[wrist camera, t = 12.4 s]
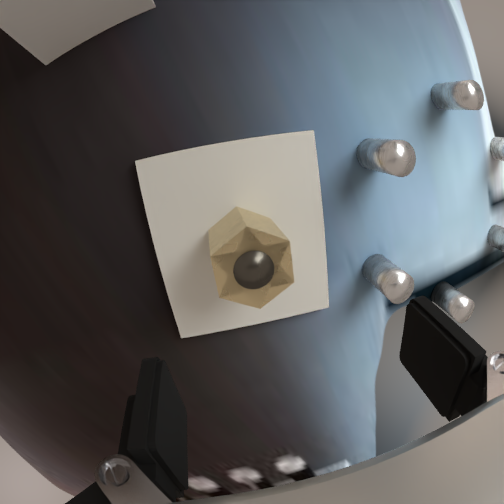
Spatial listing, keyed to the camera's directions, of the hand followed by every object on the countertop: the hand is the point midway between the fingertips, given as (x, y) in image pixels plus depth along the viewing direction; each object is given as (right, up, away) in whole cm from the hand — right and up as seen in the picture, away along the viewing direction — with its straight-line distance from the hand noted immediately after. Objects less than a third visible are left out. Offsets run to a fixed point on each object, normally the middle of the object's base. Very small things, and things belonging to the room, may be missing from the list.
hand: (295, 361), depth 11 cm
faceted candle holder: (-2, +5, +15) cm, 16 cm away
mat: (-3, +5, +16) cm, 17 cm away
